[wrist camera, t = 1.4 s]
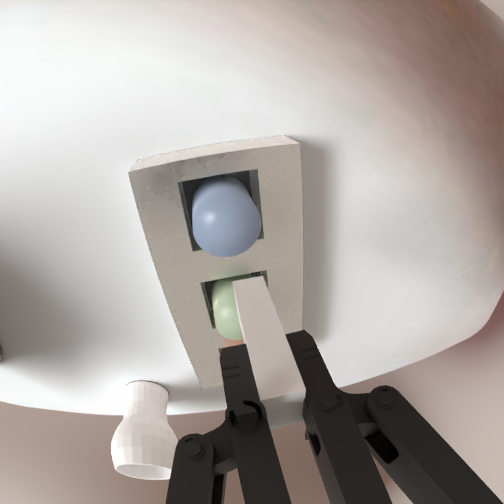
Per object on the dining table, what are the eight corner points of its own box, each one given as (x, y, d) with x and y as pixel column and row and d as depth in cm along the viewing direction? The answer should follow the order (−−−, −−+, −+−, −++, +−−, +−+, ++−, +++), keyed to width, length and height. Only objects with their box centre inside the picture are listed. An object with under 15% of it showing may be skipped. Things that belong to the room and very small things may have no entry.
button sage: (215, 311, 32) (220, 344, 28) (206, 274, 29) (210, 307, 25) (260, 302, 33) (271, 334, 29) (256, 265, 30) (268, 295, 26)
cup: (183, 382, 42) (191, 467, 30) (169, 410, 46) (174, 482, 34) (119, 369, 38) (111, 457, 26) (113, 400, 42) (109, 474, 30)
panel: (200, 364, 40) (202, 389, 37) (137, 159, 24) (128, 172, 21) (291, 345, 42) (300, 368, 38) (284, 135, 26) (300, 143, 22)
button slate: (197, 233, 27) (199, 262, 23) (187, 181, 24) (186, 201, 20) (252, 223, 28) (264, 250, 23) (246, 171, 25) (258, 189, 21)
